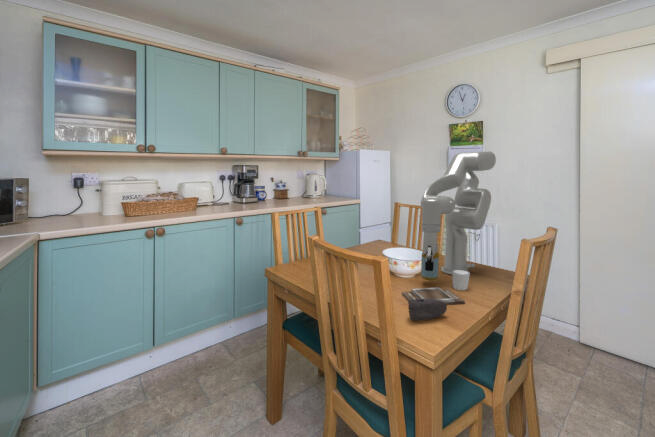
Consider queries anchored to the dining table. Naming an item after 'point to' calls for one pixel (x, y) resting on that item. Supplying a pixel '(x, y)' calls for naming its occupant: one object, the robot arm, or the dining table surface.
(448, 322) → the dining table surface
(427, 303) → the perforated stone tool
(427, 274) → the bottle
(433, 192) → the robot arm
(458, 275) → the white cylinder
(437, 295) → the dark rectangular tray
